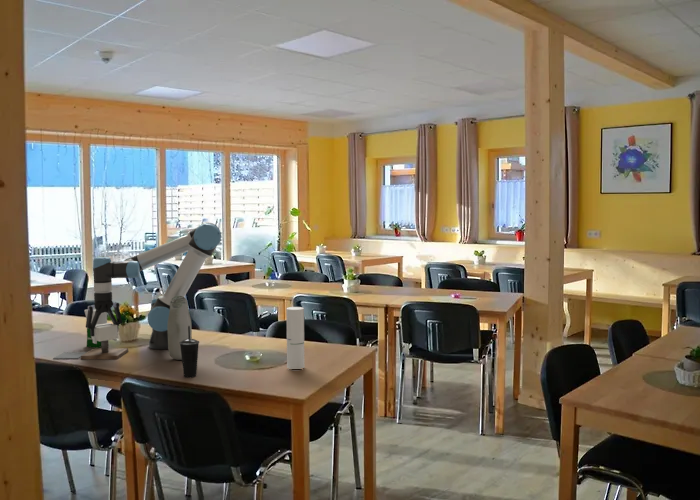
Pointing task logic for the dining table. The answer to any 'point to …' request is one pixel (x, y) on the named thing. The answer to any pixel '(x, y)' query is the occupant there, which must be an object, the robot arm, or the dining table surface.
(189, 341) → the drinking cup
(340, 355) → the dining table surface
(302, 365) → the cylindrical container
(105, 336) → the white drawer box
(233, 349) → the dining table surface
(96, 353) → the post stand
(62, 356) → the mat
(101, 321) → the milk carton
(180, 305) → the grey bottle
